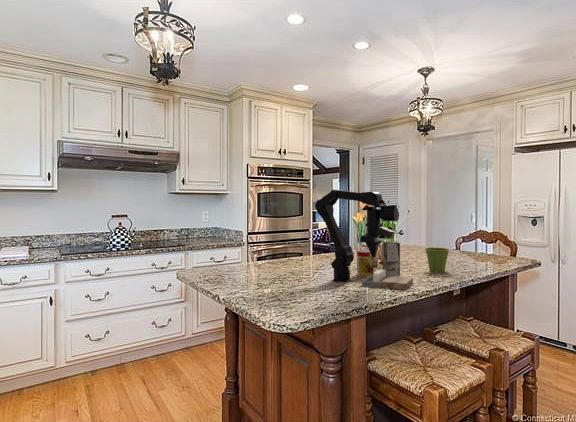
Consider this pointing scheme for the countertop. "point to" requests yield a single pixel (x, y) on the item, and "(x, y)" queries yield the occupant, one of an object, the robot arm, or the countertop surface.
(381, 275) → the cream tile
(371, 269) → the canned food
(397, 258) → the coffee box
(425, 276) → the countertop surface
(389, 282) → the plate
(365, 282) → the box
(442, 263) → the plant pot
